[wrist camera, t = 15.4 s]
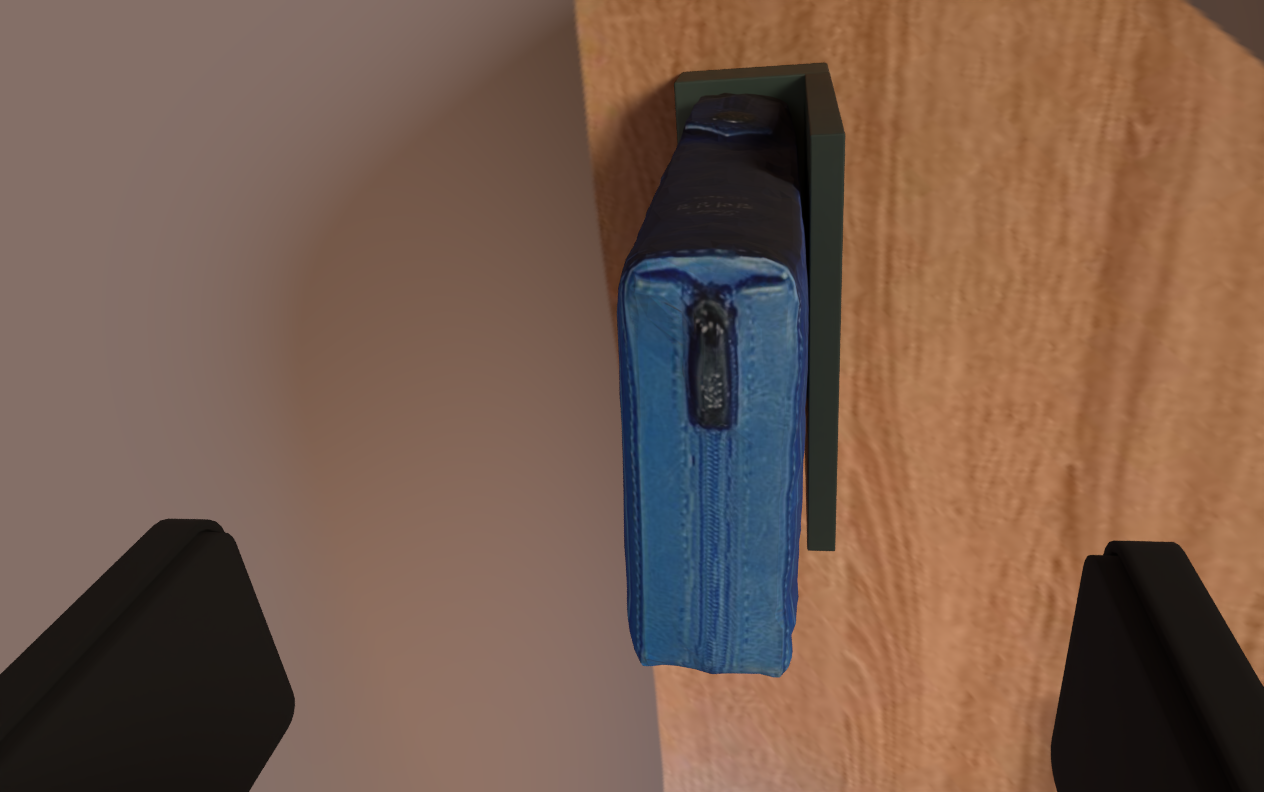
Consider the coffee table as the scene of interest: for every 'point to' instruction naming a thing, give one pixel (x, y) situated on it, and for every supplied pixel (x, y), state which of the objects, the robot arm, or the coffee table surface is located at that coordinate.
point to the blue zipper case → (716, 395)
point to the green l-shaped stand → (823, 243)
